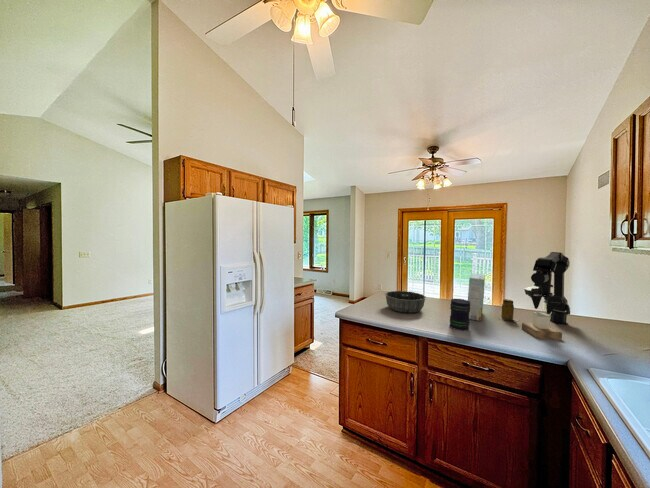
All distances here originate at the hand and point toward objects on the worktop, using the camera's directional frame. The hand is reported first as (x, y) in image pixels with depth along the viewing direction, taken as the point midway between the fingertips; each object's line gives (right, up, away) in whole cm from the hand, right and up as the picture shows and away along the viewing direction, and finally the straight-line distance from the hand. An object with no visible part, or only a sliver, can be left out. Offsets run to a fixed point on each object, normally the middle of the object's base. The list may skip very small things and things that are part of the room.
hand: (541, 311), depth 138 cm
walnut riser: (0, -13, +1) cm, 13 cm away
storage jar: (-39, -11, +9) cm, 42 cm away
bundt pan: (-61, -9, +40) cm, 73 cm away
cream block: (0, -9, +1) cm, 9 cm away
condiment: (-1, -11, +23) cm, 26 cm away
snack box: (-19, -11, +29) cm, 36 cm away
